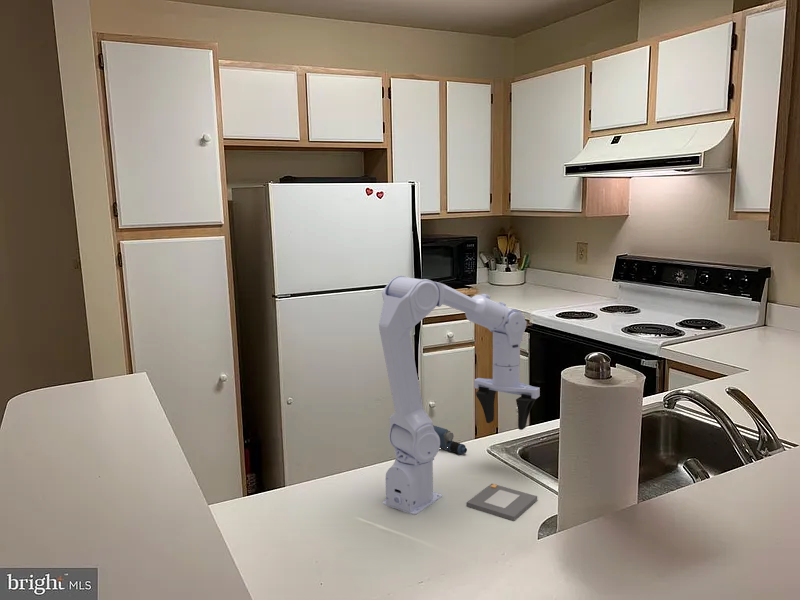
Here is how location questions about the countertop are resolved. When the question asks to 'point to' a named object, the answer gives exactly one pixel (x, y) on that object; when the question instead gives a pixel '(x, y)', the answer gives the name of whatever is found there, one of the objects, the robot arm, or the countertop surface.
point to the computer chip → (502, 501)
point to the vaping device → (449, 441)
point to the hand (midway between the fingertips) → (505, 425)
